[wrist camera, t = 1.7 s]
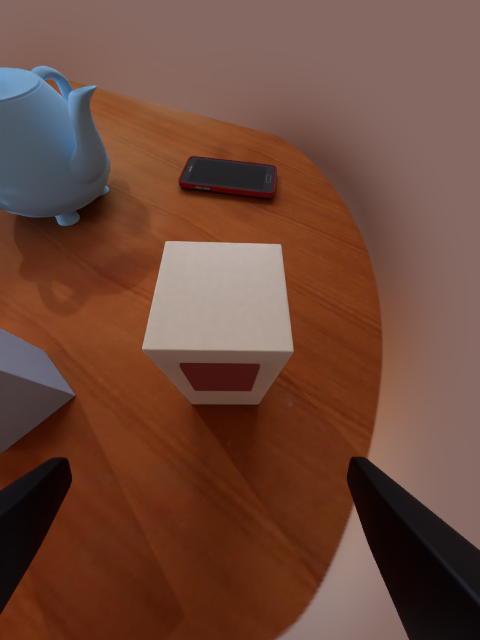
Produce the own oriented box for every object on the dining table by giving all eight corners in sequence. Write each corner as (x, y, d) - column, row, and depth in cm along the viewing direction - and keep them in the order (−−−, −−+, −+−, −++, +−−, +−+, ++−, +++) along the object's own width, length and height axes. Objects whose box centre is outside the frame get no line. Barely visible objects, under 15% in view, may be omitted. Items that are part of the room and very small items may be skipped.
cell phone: (273, 200, 35) (274, 193, 34) (177, 188, 35) (176, 182, 34) (276, 171, 38) (277, 165, 37) (190, 161, 39) (189, 155, 38)
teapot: (-4, 178, 35) (-131, 32, 23) (128, 158, 39) (81, 25, 27) (-19, 252, 28) (-215, 100, 16) (145, 219, 32) (92, 76, 19)
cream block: (259, 407, 20) (294, 356, 9) (190, 406, 20) (140, 355, 9) (256, 342, 23) (281, 243, 12) (197, 341, 23) (165, 240, 12)
